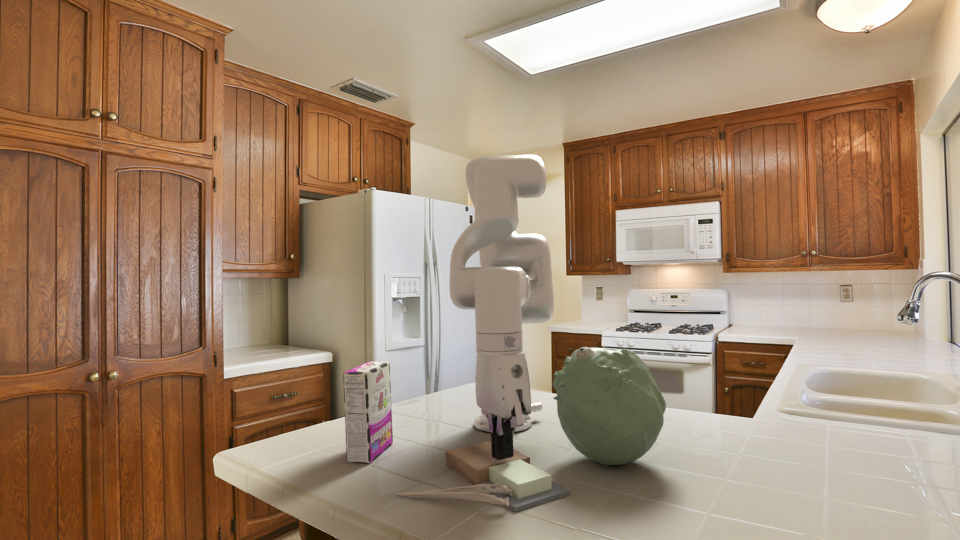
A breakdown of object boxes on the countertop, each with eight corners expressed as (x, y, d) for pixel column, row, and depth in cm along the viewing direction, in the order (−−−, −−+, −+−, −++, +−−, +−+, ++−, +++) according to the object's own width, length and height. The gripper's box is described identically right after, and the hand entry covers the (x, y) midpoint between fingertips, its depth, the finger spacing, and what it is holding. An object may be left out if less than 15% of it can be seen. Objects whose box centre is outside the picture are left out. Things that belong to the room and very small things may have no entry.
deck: (494, 453, 92) (494, 439, 92) (530, 472, 82) (530, 457, 83) (446, 465, 87) (445, 450, 87) (478, 487, 77) (477, 470, 77)
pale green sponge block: (520, 471, 81) (520, 459, 81) (551, 488, 75) (551, 475, 75) (489, 480, 78) (488, 467, 78) (518, 498, 71) (518, 484, 72)
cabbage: (673, 484, 76) (668, 353, 77) (549, 475, 81) (545, 352, 81) (663, 449, 91) (659, 340, 92) (559, 444, 96) (556, 340, 97)
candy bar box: (370, 442, 100) (368, 361, 101) (393, 443, 99) (391, 361, 100) (344, 463, 89) (341, 371, 90) (370, 464, 88) (367, 371, 89)
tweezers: (514, 493, 73) (512, 479, 73) (508, 509, 68) (506, 495, 68) (404, 496, 77) (402, 483, 77) (391, 512, 73) (389, 498, 73)
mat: (531, 473, 82) (531, 469, 82) (570, 494, 74) (570, 490, 74) (479, 487, 77) (479, 483, 77) (515, 511, 69) (514, 507, 69)
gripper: (546, 345, 76) (550, 466, 76) (494, 337, 89) (497, 440, 89) (505, 350, 72) (509, 477, 72) (457, 340, 85) (460, 449, 85)
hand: (502, 456), depth 80 cm, fingers closed
